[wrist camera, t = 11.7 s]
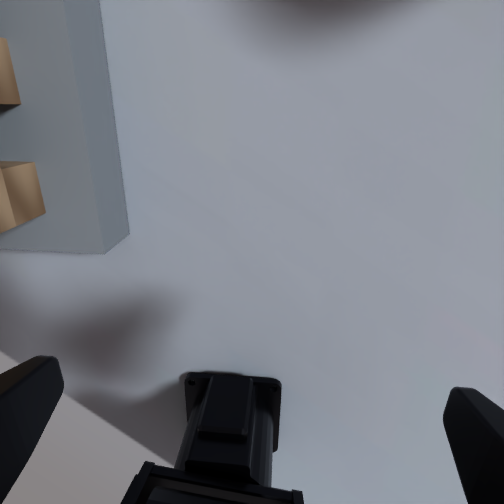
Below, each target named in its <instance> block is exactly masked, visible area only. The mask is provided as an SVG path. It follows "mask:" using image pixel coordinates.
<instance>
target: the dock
mask: <svg viewBox="0 0 504 504" xmlns="http://www.w3.org/2000/svg"><path fill="white" fill-rule="evenodd" d="M0 37H1V38H6V39H7V43H8V47H9V52H10V56H11V61H12V65H13V69H14V74H15V78H16V83H17V87H18V91H19V96H20V100H21V104H0V161H21V162H35V166H36V171H37V175H38V179H39V184H40V188H41V193H42V197H43V201H44V206H45V210H46V213H45V214H43V215H41V216H38V217H36V218H34V219H32V220H29V221H27V222H25V223H23V224H20V225H18V226H16V227H14V228H11V229H9V230H7V231H5V232H2V233H0V249H10V250H30V251H50V252H69V253H89V254H106V253H107V252H108V251H109V250H111V249H112V248H113V247H114V246H115V245H117V244H118V243H119V242H120V241H122V240H123V239H124V238H125V237H126V236H128V235H129V234H130V233H129V225H128V217H127V210H126V202H125V194H124V187H123V179H122V171H121V164H120V156H119V148H118V141H117V133H116V126H115V118H114V110H113V103H112V95H111V87H110V80H109V72H108V64H107V57H106V49H105V41H104V34H103V26H102V18H101V11H100V3H99V0H0Z"/></svg>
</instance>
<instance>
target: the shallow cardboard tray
mask: <svg viewBox="0 0 504 504" xmlns="http://www.w3.org/2000/svg"><path fill="white" fill-rule="evenodd" d="M0 104H21V100H20V96H19V91H18V87H17V83H16V78H15V74H14V69H13V65H12V61H11V56H10V52H9V47H8V43H7V39H6V38H1V37H0ZM45 213H46V210H45V206H44V201H43V197H42V193H41V188H40V184H39V179H38V175H37V171H36V166H35V162H21V161H0V233H2V232H5V231H7V230H9V229H11V228H14V227H16V226H18V225H20V224H23V223H25V222H27V221H29V220H32V219H34V218H36V217H38V216H41V215H43V214H45Z"/></svg>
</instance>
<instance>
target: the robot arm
mask: <svg viewBox="0 0 504 504" xmlns="http://www.w3.org/2000/svg"><path fill="white" fill-rule="evenodd" d="M191 380H194V381H191ZM184 383H185V396H186V409H187V421H188V425H187V428H186V431H185V434H184V438H183V441H182V444H181V447H180V451H179V454H178V457H177V460H176V464H175V467H174V468H169V467H164V466H158V465H155V463H153V462H148V461H145V462H144V464H143V466H142V468H141V470H140V472H139V474H138V475H137V474H136V475H135V477H134V479H133V481H132V482H131V484H130V486H129V488H128V490H127V492H126V494H125V496H124V498H123V500H122V502H121V504H304V500H303V494H302V491H298V490H293V489H292V491H288V490H283V489H277V488H272V487H271V481H272V453H273V452H275V451H277V449H278V436H279V420H280V404H281V382H280V381H279V380H276V379H268V378H255V377H241V376H228V375H215V374H202V373H189V374H187V376H186V378H185V382H184ZM272 386H275V387H276V388H273V387H272ZM63 389H64V381H63V377H62V373H61V369H60V365H59V362H58V359H57V358H56V357H54V356H42V355H40V356H36V357H33V358H31V359H29V360H27V361H25V362H23V363H21V364H20V365H18V366H16V367H14V368H12V369H10V370H8V371H6V372H4V373H2V374H0V504H2V502H3V500H4V499H5V498H6V496H7V494H8V493H9V491H10V490H11V488H12V486H13V485H14V483H15V481H16V480H17V478H18V477H19V475H20V473H21V472H22V470H23V468H24V467H25V465H26V463H27V462H28V460H29V458H30V456H31V454H32V452H33V451H34V449H35V447H36V445H37V443H38V441H39V439H40V437H41V435H42V433H43V431H44V429H45V427H46V425H47V423H48V421H49V419H50V417H51V415H52V413H53V411H54V409H55V407H56V405H57V403H58V401H59V399H60V397H61V395H62V393H63ZM443 424H444V428H445V431H446V434H447V438H448V441H449V444H450V448H451V451H452V454H453V457H454V461H455V464H456V467H457V471H458V474H459V477H460V480H461V484H462V487H463V490H464V493H465V496H466V499H467V502H468V504H504V410H503V409H502V408H500V407H499V406H498V405H496V404H495V403H494V402H492V401H491V400H490V399H488V398H487V397H485V396H484V395H483V394H481V393H480V392H479V391H477V390H476V389H473V388H466V387H454V388H453V389H452V390H451V391H450V394H449V397H448V401H447V404H446V407H445V410H444V413H443Z"/></svg>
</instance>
